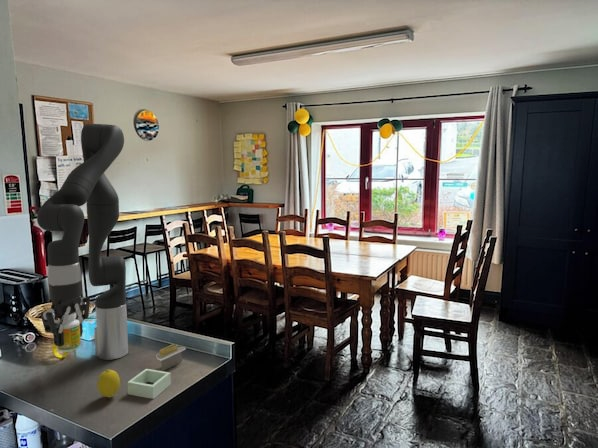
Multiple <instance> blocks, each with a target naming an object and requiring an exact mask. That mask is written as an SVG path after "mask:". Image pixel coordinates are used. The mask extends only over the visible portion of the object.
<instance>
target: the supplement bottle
mask: <svg viewBox="0 0 598 448" xmlns="http://www.w3.org/2000/svg"><path fill="white" fill-rule="evenodd" d="M75 318H76V312H74V313H72V314H69V315H68V318H67V321H66V324H64V327H63V331H62V332H63V338H64V345H63V346H61V347H60V346H57V351H58V352H61V353H62V352H68V353H69V352H73V351H76V350H78V349H79V348H81V346H82V341H81V337H80V322H79V320H78V319H75ZM58 320H62V319H60V318H58ZM58 326H59V323H58ZM58 326H57V328H58Z"/></svg>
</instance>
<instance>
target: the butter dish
mask: <svg viewBox="0 0 598 448" xmlns="http://www.w3.org/2000/svg"><path fill="white" fill-rule="evenodd" d="M185 350H186V347H185V346H179V345H178V344H176V345H175V344H174V343H173V344H170V345H168V346H166V347H164V348H161V349H159V353H157V354H156V355H155V357H156V359H157V360H158V361H160V362H161V363H160V364H161V371H163V372H165V371H167V369H168V370H169V368H172V367H175V366H176V365H178V364H180V363H182V361H183V360H182V359H183V357H182V355H183V354H182V352H183V351H185Z"/></svg>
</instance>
